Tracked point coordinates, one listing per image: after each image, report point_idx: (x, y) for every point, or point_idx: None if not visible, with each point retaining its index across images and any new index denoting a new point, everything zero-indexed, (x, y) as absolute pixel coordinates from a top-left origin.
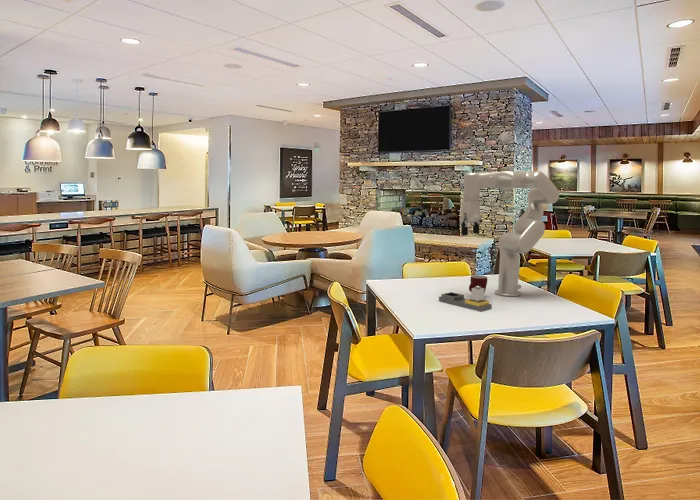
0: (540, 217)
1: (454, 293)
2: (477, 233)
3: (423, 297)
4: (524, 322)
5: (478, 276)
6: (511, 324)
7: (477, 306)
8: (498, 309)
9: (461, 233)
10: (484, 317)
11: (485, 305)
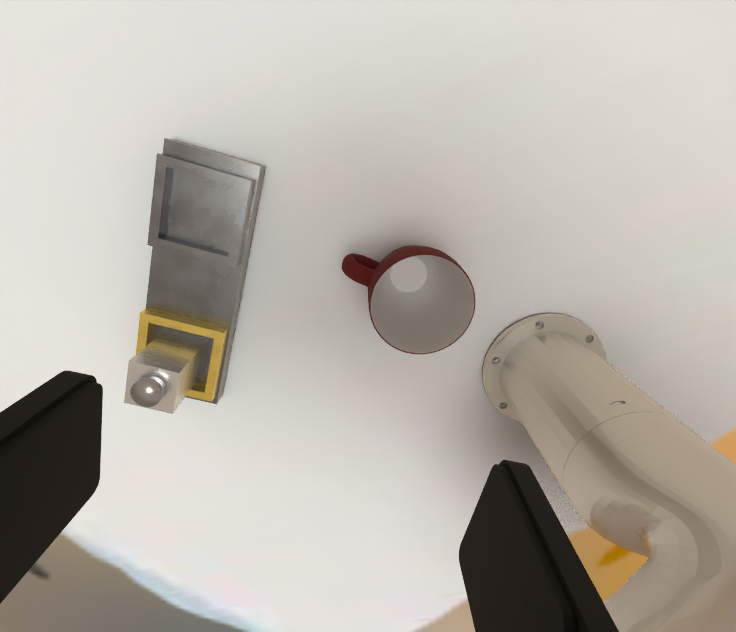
0: None
1: (236, 208)
2: (469, 538)
3: (185, 15)
4: (129, 524)
5: (468, 284)
6: None
7: None
8: (232, 417)
9: (47, 381)
10: None
11: None
